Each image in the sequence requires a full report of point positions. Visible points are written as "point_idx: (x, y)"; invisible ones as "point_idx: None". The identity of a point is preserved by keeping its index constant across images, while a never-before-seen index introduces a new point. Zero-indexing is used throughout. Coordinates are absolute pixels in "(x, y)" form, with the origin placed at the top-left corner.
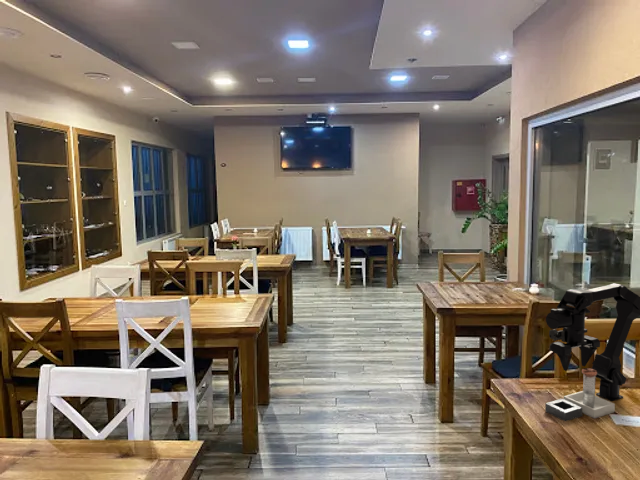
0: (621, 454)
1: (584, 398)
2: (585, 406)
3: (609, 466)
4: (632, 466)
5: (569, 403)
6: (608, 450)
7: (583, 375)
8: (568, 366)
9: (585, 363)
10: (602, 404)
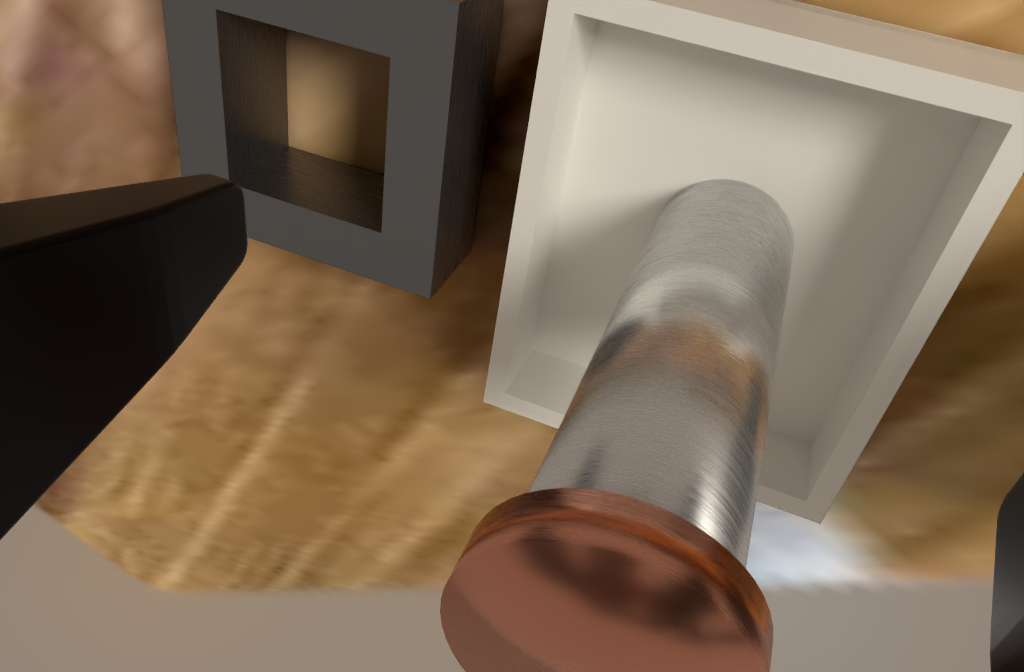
0: (237, 545)
1: (634, 269)
2: (501, 307)
3: (101, 515)
4: (195, 586)
5: (408, 152)
6: (209, 494)
7: (560, 476)
8: (146, 379)
9: (992, 625)
10: (859, 367)
